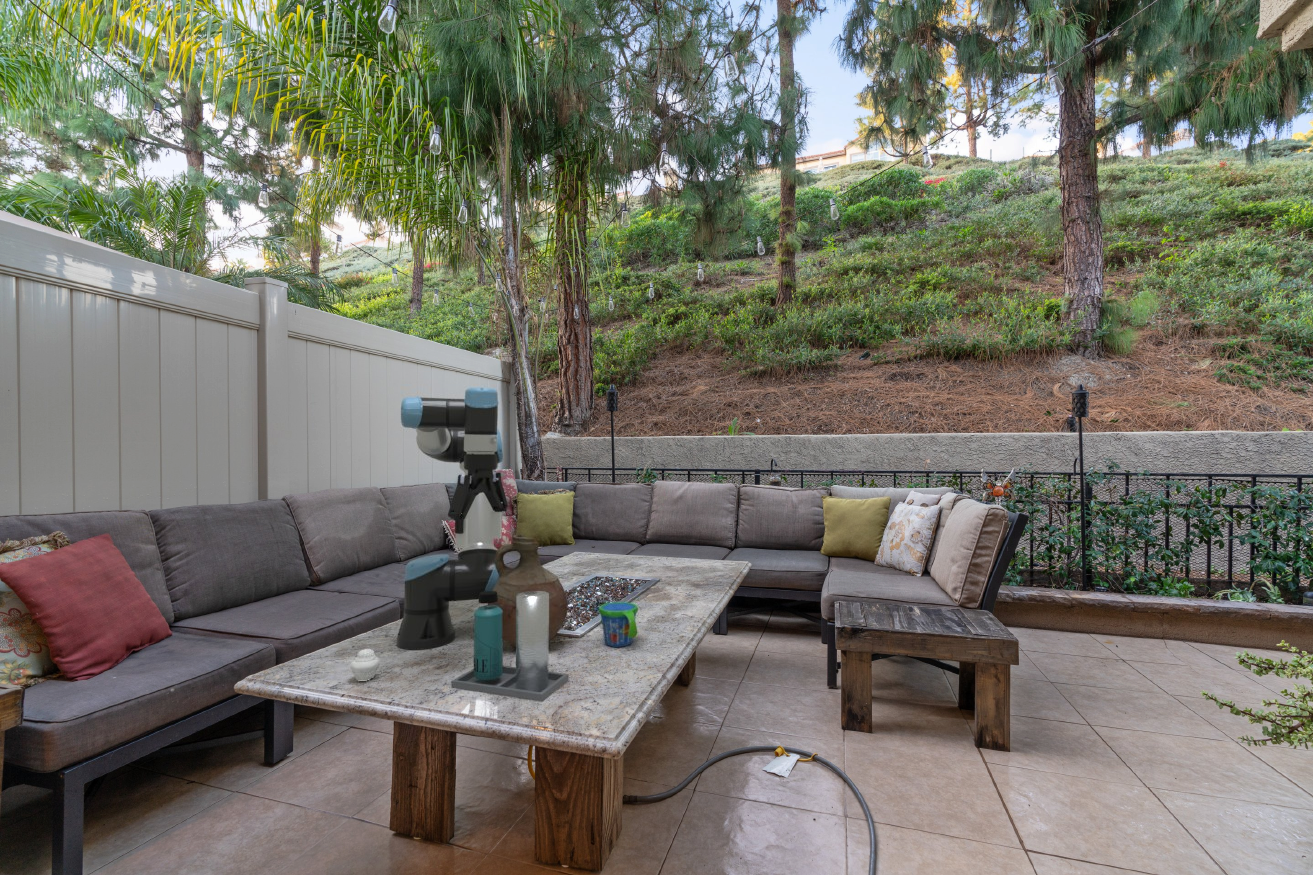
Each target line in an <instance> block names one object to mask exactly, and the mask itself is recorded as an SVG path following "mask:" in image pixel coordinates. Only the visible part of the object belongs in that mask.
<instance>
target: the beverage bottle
mask: <svg viewBox="0 0 1313 875" xmlns="http://www.w3.org/2000/svg"><path fill="white" fill-rule="evenodd" d="M497 601H498V596H497V592H496V591H484V592H481V593H480V594H479V599H478V603H479V604H485V605H481V606H479V607H478V608H477V609H475V611H474V613H473V617H474V622H473V626H474V627H472V628H473V632H472V633H473V660H472V661H473V662H472V663H473V668H472V669H473V670H474V671H473V672H474V676H475V678H476V679H479V680H491V679H495V678H498V677H500V676H501V675H502V672H503V666H504V646H503V644H504V643H503V642H504V640H503V639H502V613H503V611H502V609H501V608H500V607H498V606H497V605H488V603H494V602H497Z"/></svg>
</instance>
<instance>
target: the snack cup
mask: <svg viewBox="0 0 1313 875" xmlns="http://www.w3.org/2000/svg"><path fill="white" fill-rule="evenodd" d="M638 611H639V607H638V605H637V604H635V603H632V602H625V601H623V602H621V601H619V602H618V601H616V602H607V603H603V604H601V605H599V608H598V613H599V614H600V617H601V618H600V622H601V625H602V630H603V638H604V644H606V645H607V646H610V647H613V648H614V647H615V648H618V647H619V648H622V647H627V646H629V645H630V644H632V643H633V638H635V637H636V636H637V635H638V629H637V622H636V616H637V613H638Z"/></svg>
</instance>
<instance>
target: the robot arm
mask: <svg viewBox="0 0 1313 875" xmlns="http://www.w3.org/2000/svg"><path fill="white" fill-rule="evenodd" d="M498 407H499V398H498V391H497V390H496V389H495V388H490V387H468V388H467V389H466V390H465V393H464V398H442V397H436V398H435V397H421V396H420V397H419V396H414V397H410V396H409V397H405V398H403V399H402V401H401V406H400V420H401V421H400V422H401V425H402V427H404V428H408V429H413V430H414V429H415V431H416V433H417V434H416V438H415V439H416V445H417V447H418V449H419V451H421V452H422V453H423V454H424V455H426V456H428V458H431V459H434V460H436V461H440V462H445V463H455V464H456V463H459V468H460V470H461V471H463V473H464V474H459V475H457V484H456V488H455V490H454V494H453V497H452V500H451V503H450V506H449V509H448V512H447V516H448V518H450V519H452V520H454V533H455V538H454V539H455V543H454V544H455V545H454V547H455V548H456V549H460V550H459V551H458V552H457V559H456V558H455V559H451V557H450V555H449V554H448V553H446V554H445V553H444V554H433V555H427V556H423V557H419V558H416V559H413V560H411V561H409V562H408V563H407V564H406V565H405V569H404V578H403V581H404V601H403V605H404V606H403V607H404V608H403V617H402V619H401V620H402V621H401V624H400V626H399V630H398V632H397V635H396V646H397V647H398V648H400V649H405V650H425V649H426V650H427V649H432V648H434V649H435V648H437V647H441V646H444V645H447V644H449V643H452V642H453V641H454V640H455V638H456V630H455V627H454V625H453V621H452V617H451V614H450V610H449V604H450V602H460V601H461V602H463V601H474V600H479V594H480V593H481V592H484V591H493V589H494V587H495V585H496V583H497V581H498V578H499V574H498V572H497V570H496V566H495V555H496V552H497V550H498V549H499V548H497V547H495V545H494V544H495V543H494V542H495V541H494V540H495V539H496V540H497V539H498V540H499V539H500V540H501V539H502V537H503V536H502V532H503V531H502V530H503V529H502V528H503V527H502V526H503V523H502V522H503V512H505V513H506V512H507V509H508V507H509V504H508V500H507V497H506V496H507V495H506V492H505V490H504V485H503V482H502V473H501V472H497V471H496V470H497V469H498V468H499V464H500V463H502V462H503V460H504V459H503V458H504V455H503V454H504V453H503V442H502V437H501V433H500V430H499V429H498V419H499V418H498V416H499V414H498V413H499V408H498ZM503 561H504V562H505V556H504V557H503Z"/></svg>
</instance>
